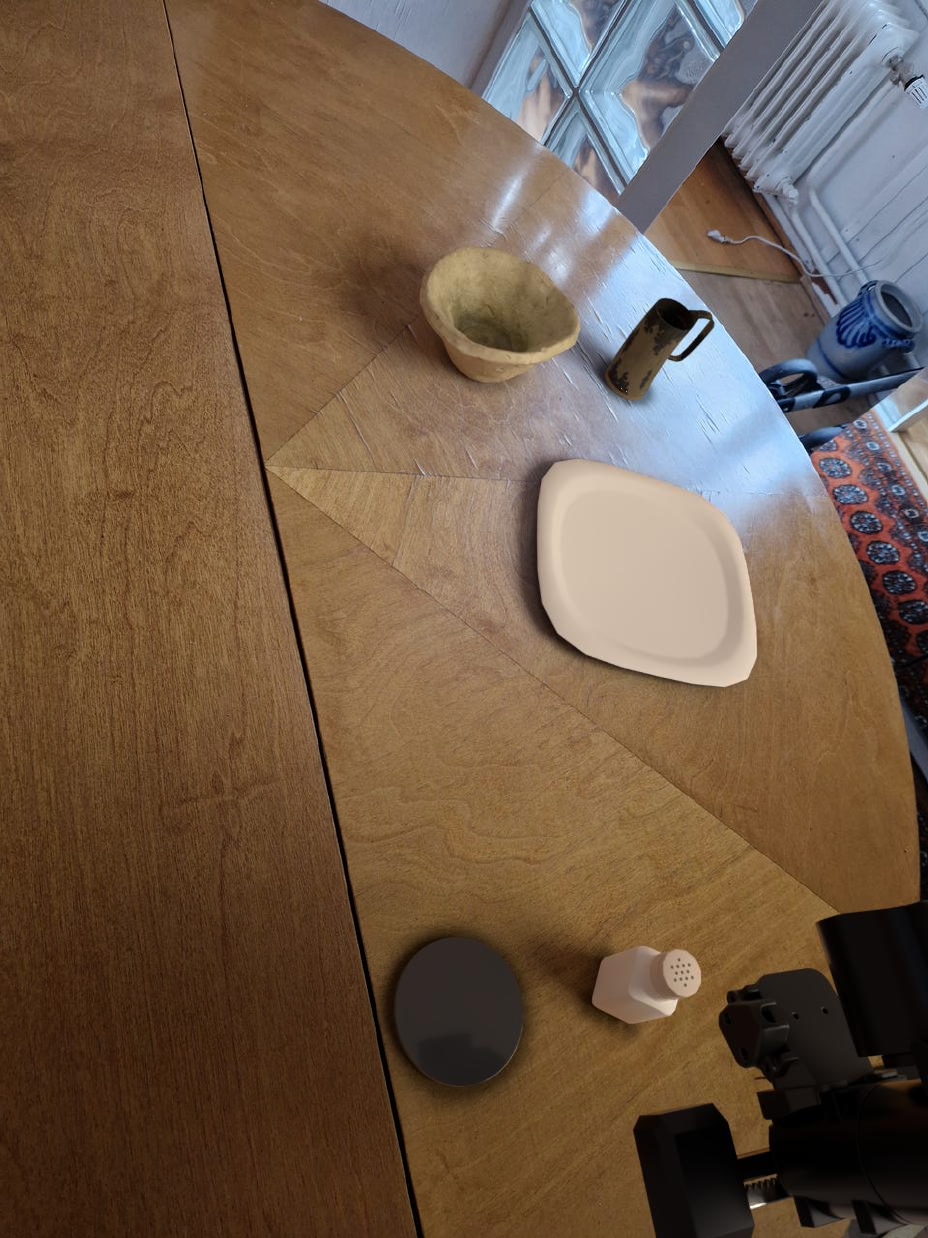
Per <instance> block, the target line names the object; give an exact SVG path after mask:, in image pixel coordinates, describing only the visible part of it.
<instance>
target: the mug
mask: <svg viewBox="0 0 928 1238" xmlns="http://www.w3.org/2000/svg"><path fill="white" fill-rule="evenodd" d="M703 319H704V320H708V322H707V324H706V325H705V326H704V327H703V329H702V330H701V331H700V332H699V333H698V334H697V336H696V337H695V338H694V339H693V340H692V341H691V343H690V344H689V345H688V346H687V347H686V348H685V349H684V350H683V351H682V352H681V353H680V354H677V355H673V354H672V353H673V352H674V351H675V350H676V348H677V347H678V346H679V345H680V343H681V342H682V341H683V340H684V339H685V338H686V336H687V335H688V334H689V333H690V332H691V330H692V329H693V328H694V327H695V325H696V324H697V322H698V320H703ZM715 325H716V323H715V321H714V319H713V314H712V313H711V312H710V311H708V310H704V309H689V308H687V306H685V305H684V304H682V302H680V301H678V300H676V299H673V298H670V297H660V298H658V299H657V301H656V302H655V303H654V304H653V305H652V306H651V307H650V308H649V310H648V311H647V312H646V313H645V314H644V315H643V317H642V318H641V319H640V320H639V322H638V323H637V324H636V325H635V327H634V328H633V329H632V331H631V332H630V334H629V335H628V336H627V337H626V339H625V340H624V341H623V343H622V345H621V346H620V348H619V349H618V350H617V352H616V354H615V355H614V357H613V359H612V360H611V362H610V364H609V365H608V367H607V369H606V370H605V373H604V378H605V381H606V384H607V385H608V387H609V389H611V390H612V392H614V393H615V394H616V395H617V396H619V397H621V398H623V399H625V400H629V401H639V400H641V399H643V398H644V396H646V394H647V392H648V390H649V388H650V387H651V385H652V383H653V381H654V380H655V378H656V377H657V375H658V373H659V372H660V371H661V369H663V368H662V367H663V366H664V365H665V363H666V362H667V361H671V362H675V363H679V362H683V361H684V360H685V359H687V358H688V357H689V356H690V355H691V354H692V353H693V352H694V351H695V350H696V349H697V348H698V347H699V346H700V345H701V344H702V342H703V341H704V340H705V339H706V338H707V337H708V335H710V333H711V332H712V331H713V329H715ZM621 388H622V389H621ZM626 391H627V392H626ZM645 391H646V392H645ZM644 392H645V393H644ZM641 393H643V394H641Z"/></svg>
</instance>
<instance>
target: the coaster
mask: <svg viewBox="0 0 928 1238" xmlns="http://www.w3.org/2000/svg"><path fill="white" fill-rule="evenodd" d="M519 986H520V985H519V983H518V981H517V979H516V977H515V974H514V972H513V971H512V969H511V967H510V966H509V965H508V963H507V962H506V961H505V960H504V958H503V957H501V956H500V955H499V954H498V952H496V951H495V950H494V949H493V948H491V947H489V946H488V945H487V944H485V943H483V942H481V941H479V940H475V939H472V938H467V937H462V936H452V937H445V938H441V939H438V940H435V941H433V942H431V943H429V944H427V945H425V946H423V948H421V949H420V950H418V951H417V952H416V953H415V954H414V955H413V956H412V957H411V958H410V959H409V961H408V962H407V963H406V964H405V966H404V968H403V969H402V971H401V973H400V976H399V977H398V981H397V983H396V987H395V991H394V995H393V1003H392V1005H393V1006H392V1015H393V1016H392V1017H393V1024H394V1030H395V1033H396V1037H397V1040H398V1042H399V1044H400V1046H401V1049H402V1051H403V1052H404V1054H405V1055H406V1057H407V1059H408V1060H409V1061H410V1062H411V1064H412V1065H413V1066H414V1067H415V1068H416V1069H417V1071H419V1072H420V1073H422V1075H424V1076H425V1077H426V1078H428V1079H430V1080H432V1081H434V1082H436V1083H438V1084H441V1085H443V1086H449V1087H453V1088H454V1087H455V1088H466V1087H471V1086H472V1087H473V1086H476V1085H477V1086H478V1085H480V1084H483V1083H485V1082H487V1081H489V1080H491V1079H492V1078H494V1077H495V1076H497V1075H498V1074H499V1073H500V1072H501V1071H503V1069H504V1068H505V1067H506V1066H507V1065H508V1063H510V1061H511V1060H512V1058H513V1056H514V1054H515V1053H516V1050H517V1048H518V1046H519V1044H520V1040H521V1037H522V1032H523V1027H524V1018H525V1017H524V1016H525V1015H524V1002H523V997H522V993H521V989H520V987H519Z"/></svg>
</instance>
